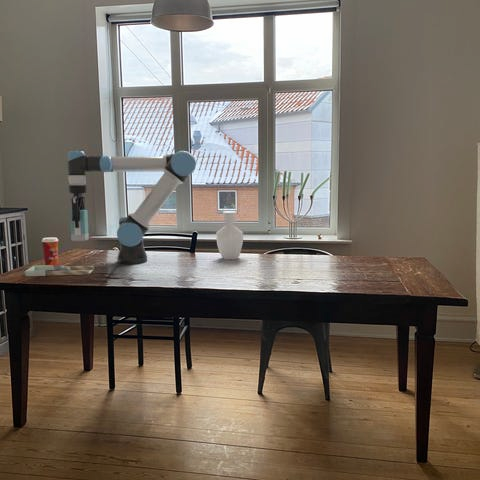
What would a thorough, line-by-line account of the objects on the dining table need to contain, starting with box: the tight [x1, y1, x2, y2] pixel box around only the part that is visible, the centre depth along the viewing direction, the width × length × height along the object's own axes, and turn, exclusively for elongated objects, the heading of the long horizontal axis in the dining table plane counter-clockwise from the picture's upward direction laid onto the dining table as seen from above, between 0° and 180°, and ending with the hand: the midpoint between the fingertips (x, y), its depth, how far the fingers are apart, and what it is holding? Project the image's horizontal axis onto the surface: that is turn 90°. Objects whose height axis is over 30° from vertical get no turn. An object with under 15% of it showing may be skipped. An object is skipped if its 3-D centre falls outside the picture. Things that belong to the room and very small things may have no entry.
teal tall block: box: [69, 209, 90, 242], centre depth 213 cm, size 6×6×14 cm
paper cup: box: [41, 237, 59, 267], centre depth 220 cm, size 8×8×14 cm
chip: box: [53, 264, 64, 271], centre depth 206 cm, size 4×4×2 cm
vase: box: [215, 210, 244, 260], centre depth 240 cm, size 14×14×25 cm
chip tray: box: [24, 264, 54, 277], centre depth 203 cm, size 8×12×3 cm
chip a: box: [60, 267, 70, 271], centre depth 202 cm, size 4×4×2 cm
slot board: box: [46, 265, 95, 276], centre depth 205 cm, size 18×11×2 cm, turn 96°
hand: (79, 233), depth 213 cm, fingers closed on teal tall block, 6 cm apart
